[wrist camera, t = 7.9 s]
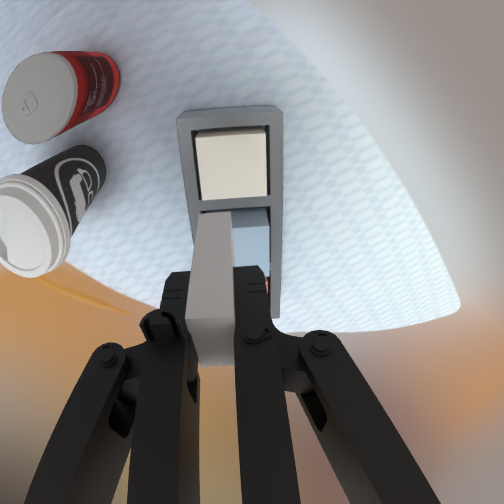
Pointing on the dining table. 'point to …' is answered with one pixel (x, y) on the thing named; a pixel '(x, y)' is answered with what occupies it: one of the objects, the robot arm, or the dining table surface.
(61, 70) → the canned food
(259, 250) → the key blue
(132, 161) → the dining table surface
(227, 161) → the key ivory
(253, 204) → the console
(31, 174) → the coffee cup
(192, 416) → the robot arm
